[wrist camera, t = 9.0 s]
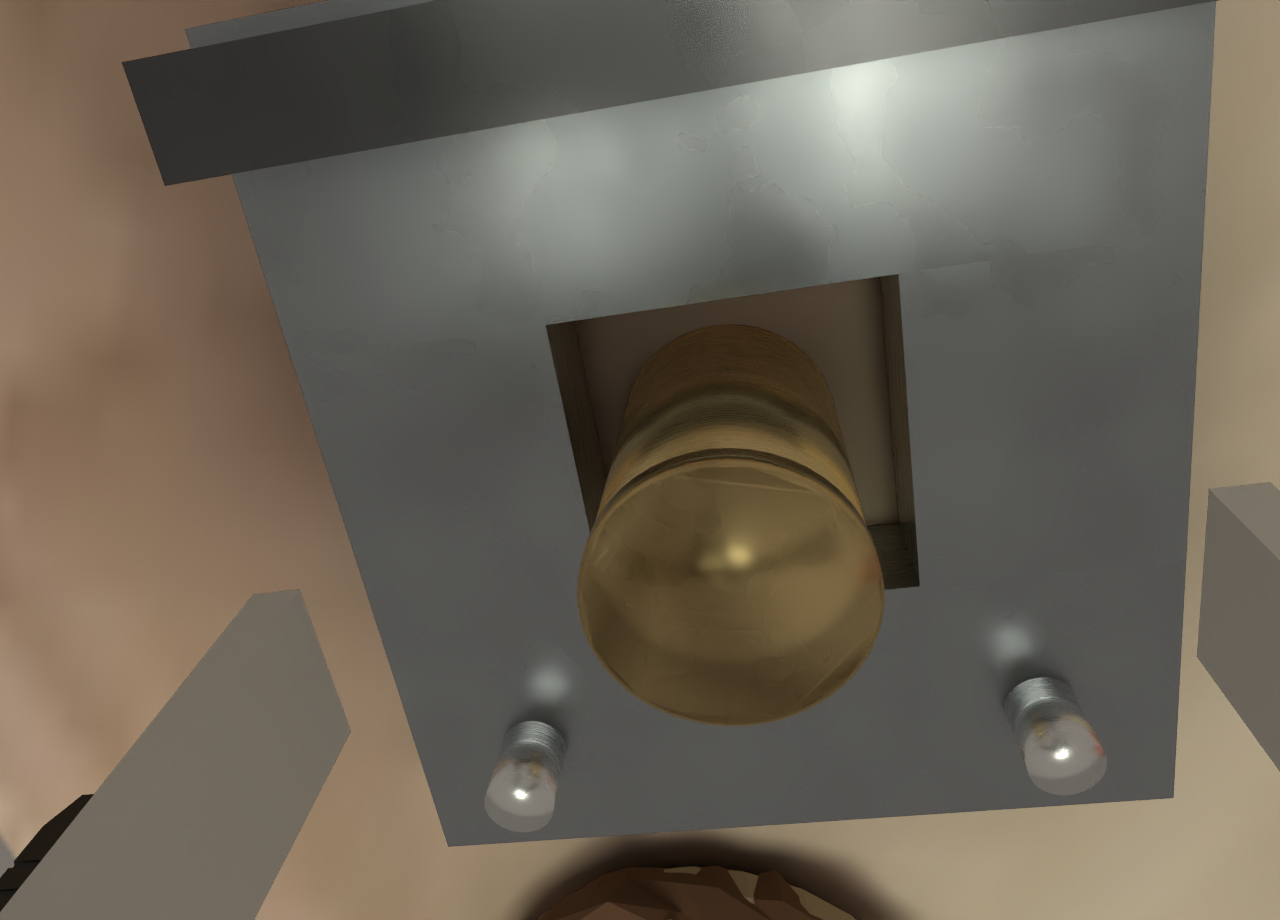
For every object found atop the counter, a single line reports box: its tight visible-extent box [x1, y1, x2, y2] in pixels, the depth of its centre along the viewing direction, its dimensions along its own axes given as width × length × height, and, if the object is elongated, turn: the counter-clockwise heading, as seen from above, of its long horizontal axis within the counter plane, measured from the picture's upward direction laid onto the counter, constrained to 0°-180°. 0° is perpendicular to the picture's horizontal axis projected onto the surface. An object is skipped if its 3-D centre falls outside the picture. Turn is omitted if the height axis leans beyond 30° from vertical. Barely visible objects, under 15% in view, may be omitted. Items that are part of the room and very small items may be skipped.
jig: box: [122, 0, 1217, 847], centre depth 21 cm, size 20×18×5 cm
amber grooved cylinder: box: [577, 324, 884, 726], centre depth 20 cm, size 5×5×8 cm
